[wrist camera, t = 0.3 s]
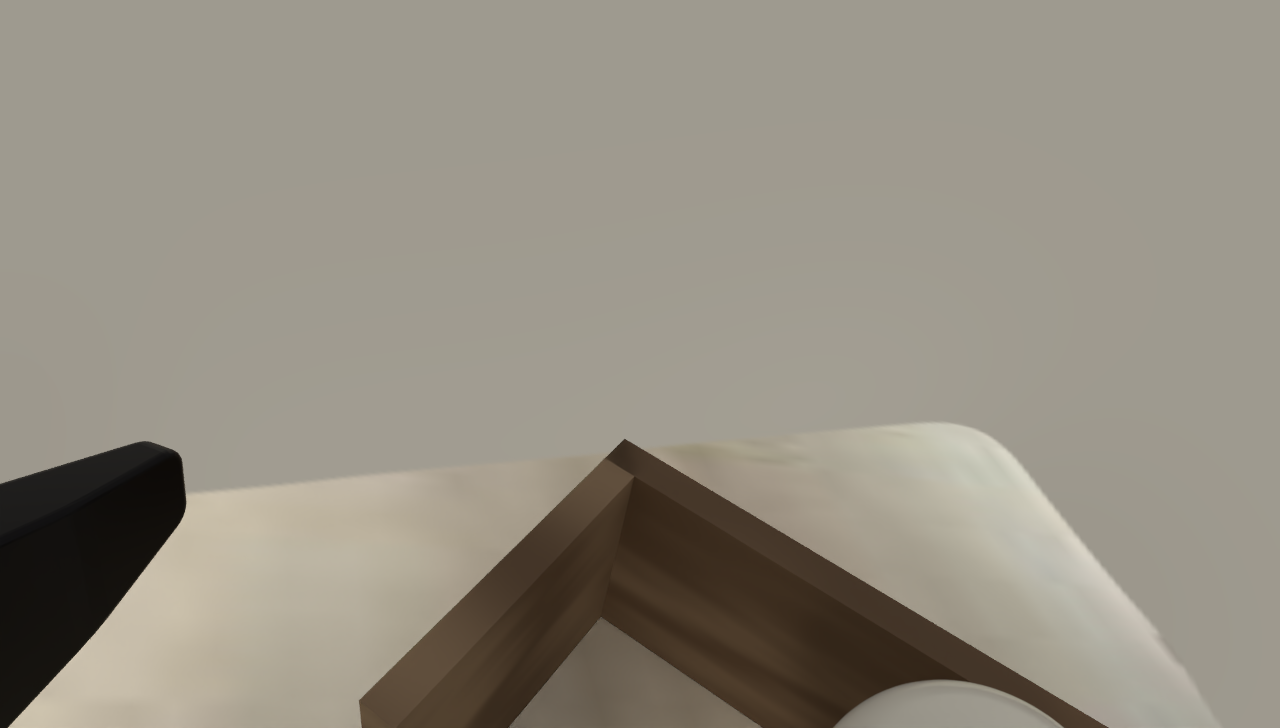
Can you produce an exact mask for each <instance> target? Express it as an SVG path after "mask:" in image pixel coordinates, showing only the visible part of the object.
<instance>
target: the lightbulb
mask: <svg viewBox="0 0 1280 728" xmlns="http://www.w3.org/2000/svg"><path fill="white" fill-rule="evenodd" d="M833 728H1064V727H1063V726H1062V725H1060V724H1059V723H1058V722H1057V721H1055V720H1054V719H1053V718H1051V717H1050V716H1048V715H1047V714H1045V713H1044V712H1042V711H1041V710H1039V709H1038V708H1036V707H1034V706H1033V705H1031V704H1029V703H1027V702H1025V701H1023V700H1022V699H1019V698H1017V697H1015V696H1013V695H1011V694H1008V693H1006V692H1003V691H1001V690H998V689H995V688H992V687H988V686H985V685H981V684H977V683H972V682H966V681H959V680H942V679H937V680H923V681H915V682H910V683H906V684H901V685H898V686H895V687H892V688H889V689H886V690H884V691H881V692H879V693H877V694H875V695H873V696H871V697H869V698H868V699H866V700H864V701H863V702H861V703H860V704H858V705H857V706H856V707H854V708H853V709H852V710H850V711H849V712H848V713H847V714H846V715H845V716H844V717H842V718H841V719H840V720H839V721H838V722H837V723H836V725H835V726H834V727H833Z"/></svg>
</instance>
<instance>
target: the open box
mask: <svg viewBox="0 0 1280 728" xmlns="http://www.w3.org/2000/svg"><path fill="white" fill-rule="evenodd" d="M600 617H603V618H604V619H606V620H607V621H609V622H610V623H611V624H613V625H614V626H616V627H617V628H619V629H620V630H622V631H623V632H625V633H626V634H627V635H629V636H630V637H632V638H633V639H635V640H636V641H638V642H639V643H641V644H642V645H643V646H645V647H646V648H648V649H649V650H651V651H652V652H654V653H655V654H657V655H658V656H660V657H661V658H662V659H664V660H665V661H667V662H668V663H670V664H671V665H673V666H674V667H676V668H677V669H678V670H680V671H681V672H683V673H684V674H686V675H687V676H689V677H690V678H692V679H693V680H694V681H696V682H697V683H699V684H700V685H702V686H703V687H705V688H706V689H708V690H709V691H711V692H712V693H713V694H715V695H716V696H718V697H719V698H721V699H722V700H724V701H725V702H727V703H728V704H729V705H731V706H732V707H734V708H735V709H737V710H738V711H740V712H741V713H743V714H744V715H745V716H747V717H748V718H750V719H751V720H753V721H754V722H756V723H757V724H759V725H760V726H761V727H763V728H833V727H834V726H835V725H836V723H837V722H838V721H839V720H840V719H841V718H842V717H844V716H845V715H846V714H847V713H848V712H849V711H850V710H852V709H853V708H854V707H856V706H857V705H858V704H860V703H861V702H863V701H864V700H866V699H868V698H869V697H871V696H873V695H875V694H877V693H879V692H881V691H884V690H886V689H889V688H892V687H895V686H898V685H901V684H906V683H910V682H915V681H923V680H937V679H942V680H959V681H966V682H972V683H977V684H981V685H985V686H988V687H992V688H995V689H998V690H1001V691H1003V692H1006V693H1008V694H1011V695H1013V696H1015V697H1017V698H1019V699H1022V700H1023V701H1025V702H1027V703H1029V704H1031V705H1033V706H1034V707H1036V708H1038V709H1039V710H1041V711H1042V712H1044V713H1045V714H1047V715H1048V716H1050V717H1051V718H1053V719H1054V720H1055V721H1057V722H1058V723H1059V724H1060V725H1062V726H1063V727H1064V728H1108V727H1106V726H1105V725H1103V724H1101V723H1100V722H1098V721H1096V720H1095V719H1093V718H1091V717H1089V716H1088V715H1086V714H1084V713H1083V712H1081V711H1079V710H1078V709H1076V708H1074V707H1073V706H1071V705H1069V704H1068V703H1066V702H1064V701H1063V700H1061V699H1059V698H1058V697H1056V696H1054V695H1053V694H1051V693H1049V692H1048V691H1046V690H1044V689H1043V688H1041V687H1039V686H1038V685H1036V684H1034V683H1033V682H1031V681H1029V680H1028V679H1026V678H1024V677H1023V676H1021V675H1019V674H1017V673H1016V672H1014V671H1012V670H1011V669H1009V668H1007V667H1006V666H1004V665H1002V664H1001V663H999V662H997V661H996V660H994V659H992V658H991V657H989V656H987V655H986V654H984V653H982V652H981V651H979V650H977V649H976V648H974V647H972V646H971V645H969V644H967V643H966V642H964V641H962V640H961V639H959V638H957V637H956V636H954V635H952V634H951V633H949V632H947V631H946V630H944V629H942V628H940V627H939V626H937V625H935V624H934V623H932V622H930V621H929V620H927V619H925V618H924V617H922V616H920V615H919V614H917V613H915V612H914V611H912V610H910V609H909V608H907V607H905V606H904V605H902V604H900V603H899V602H897V601H895V600H894V599H892V598H890V597H889V596H887V595H885V594H884V593H882V592H880V591H879V590H877V589H875V588H874V587H872V586H870V585H868V584H867V583H865V582H863V581H862V580H860V579H858V578H857V577H855V576H853V575H852V574H850V573H848V572H847V571H845V570H843V569H842V568H840V567H838V566H837V565H835V564H833V563H832V562H830V561H828V560H827V559H825V558H823V557H822V556H820V555H818V554H817V553H815V552H813V551H812V550H810V549H808V548H807V547H805V546H803V545H802V544H800V543H798V542H797V541H795V540H793V539H791V538H790V537H788V536H786V535H785V534H783V533H781V532H780V531H778V530H776V529H775V528H773V527H771V526H770V525H768V524H766V523H765V522H763V521H761V520H760V519H758V518H756V517H755V516H753V515H751V514H750V513H748V512H746V511H745V510H743V509H741V508H740V507H738V506H736V505H735V504H733V503H731V502H730V501H728V500H726V499H725V498H723V497H721V496H719V495H718V494H716V493H714V492H713V491H711V490H709V489H708V488H706V487H704V486H703V485H701V484H699V483H698V482H696V481H694V480H693V479H691V478H689V477H688V476H686V475H684V474H683V473H681V472H679V471H678V470H676V469H674V468H673V467H671V466H669V465H668V464H666V463H664V462H663V461H661V460H659V459H658V458H656V457H654V456H653V455H651V454H649V453H648V452H646V451H644V450H642V449H641V448H639V447H637V446H636V445H634V444H632V443H631V442H629V441H627V440H626V439H624V440H623V441H622V442H621V443H620V444H619V445H618V446H617V447H616V448H615V449H614V450H613V451H612V452H611V453H610V454H609V455H608V456H607V457H606V458H605V459H604V460H603V461H602V462H601V463H600V464H599V465H598V466H597V467H596V468H595V469H594V470H593V471H592V472H591V473H590V474H589V475H588V476H587V477H586V478H585V479H584V480H583V481H582V482H580V483H579V484H578V485H577V486H576V487H575V488H574V489H573V490H572V491H571V492H570V493H569V494H568V495H567V496H566V497H565V498H564V499H563V500H562V501H561V502H560V503H559V504H558V505H557V506H556V507H555V508H554V509H553V510H552V511H551V512H550V513H549V514H548V515H547V516H546V517H545V518H544V519H543V520H542V521H541V522H540V523H539V524H538V525H537V526H536V527H535V528H534V529H533V530H532V531H531V532H530V533H529V534H528V535H527V536H526V537H525V538H524V539H523V540H522V541H521V542H520V543H519V544H518V545H517V546H516V547H514V548H513V549H512V550H511V551H510V552H509V553H508V554H507V555H506V556H505V557H504V558H503V559H502V560H501V561H500V562H499V563H498V564H497V565H496V566H495V567H494V568H493V569H492V570H491V571H490V572H489V573H488V574H487V575H486V576H485V577H484V578H483V579H482V580H481V581H480V582H479V583H478V584H477V585H476V586H475V587H474V588H473V589H472V590H471V591H470V592H469V593H468V594H467V595H466V596H465V597H464V598H463V599H462V600H461V601H460V602H459V603H458V604H457V605H456V606H455V607H454V608H453V609H452V610H451V611H450V612H448V613H447V614H446V615H445V616H444V617H443V618H442V619H441V620H440V621H439V622H438V623H437V624H436V625H435V626H434V627H433V628H432V629H431V630H430V631H429V632H428V633H427V634H426V635H425V636H424V637H423V638H422V639H421V640H420V641H419V642H418V643H417V644H416V645H415V646H414V647H413V648H412V649H411V650H410V651H409V652H408V653H407V654H406V655H405V656H404V657H403V658H402V659H401V660H400V661H399V662H398V663H397V664H396V665H395V666H394V667H393V668H392V669H391V670H390V671H389V672H388V673H387V674H386V675H385V676H383V677H382V678H381V679H380V680H379V681H378V682H377V683H376V684H375V685H374V686H373V687H372V688H371V689H370V690H369V691H368V692H367V693H366V694H365V695H364V696H363V697H362V698H361V699H360V700H359V704H360V714H361V724H362V728H508V727H509V726H510V725H511V724H512V722H513V721H514V720H515V719H516V718H517V716H518V715H519V714H520V713H521V712H522V710H523V709H524V708H525V707H526V706H527V704H528V703H529V702H530V701H531V700H532V698H533V697H534V696H535V695H536V694H537V692H538V691H539V690H540V689H541V688H542V686H543V685H544V684H545V683H546V682H547V680H548V679H549V678H550V677H551V676H552V674H553V673H554V672H555V671H556V670H557V668H558V667H559V666H560V665H561V664H562V662H563V661H564V660H565V659H566V658H567V656H568V655H569V654H570V653H571V652H572V650H573V649H574V648H575V647H576V646H577V644H578V643H579V642H580V641H581V640H582V638H583V637H584V636H585V635H586V633H587V632H588V631H589V630H590V629H591V627H592V626H593V625H594V624H595V623H596V621H597V620H598V619H599V618H600Z"/></svg>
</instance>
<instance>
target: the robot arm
mask: <svg viewBox="0 0 1280 728" xmlns="http://www.w3.org/2000/svg"><path fill="white" fill-rule="evenodd" d="M185 509H186V493H185V484H184V474H183V464H182V459H181V457H180V455H179V454H178V453H177V452H176V451H174V450H172V449H169V448H166V447H164V446H161V445H158V444H155V443H152V442H146V441H143V442H137V443H134V444H130V445H127V446H123V447H120V448H117V449H113V450H110V451H107V452H104V453H100V454H97V455H94V456H90V457H87V458H84V459H81V460H77V461H74V462H71V463H67V464H64V465H61V466H57V467H54V468H51V469H48V470H44V471H41V472H38V473H34V474H32V475H28V476H25V477H22V478H18V479H15V480H12V481H8V482H5V483H2V484H0V728H8V727H9V726H10V725H11V724H12V723H13V721H14V720H15V719H16V718H17V717H18V716H19V715H20V714H21V713H22V712H23V711H24V710H25V709H26V707H27V706H28V705H29V704H30V703H31V702H32V701H33V700H34V699H35V698H36V697H37V696H38V695H39V694H40V692H41V691H42V690H43V689H44V688H45V687H46V686H47V685H48V684H49V683H50V682H51V681H52V680H53V678H54V677H55V676H56V675H57V674H58V673H59V672H60V671H61V670H62V669H63V668H64V667H65V666H66V664H67V663H68V662H69V661H70V660H71V659H72V658H73V657H74V656H75V655H76V654H77V653H78V652H79V650H80V649H81V648H82V647H83V646H84V645H85V644H86V643H87V641H88V640H89V639H90V638H91V637H92V636H93V635H94V634H95V633H96V631H97V630H98V629H99V628H100V626H101V625H102V624H103V623H104V621H105V620H106V619H107V618H108V617H109V615H110V614H111V613H112V611H113V610H114V609H115V607H116V606H117V605H118V604H119V602H120V601H121V600H122V598H123V597H124V596H125V594H126V593H127V592H128V590H129V589H130V588H131V587H132V585H133V584H134V583H135V581H136V580H137V579H138V577H139V576H140V575H141V573H142V572H143V571H144V569H145V568H146V567H147V566H148V564H149V563H150V562H151V560H152V559H153V558H154V556H155V555H156V554H157V552H158V551H159V550H160V549H161V547H162V546H163V545H164V543H165V542H166V541H167V539H168V538H169V537H170V535H171V534H172V533H173V531H174V530H175V529H176V528H177V526H178V525H179V523H180V522H181V520H182V518H183V515H184V513H185Z"/></svg>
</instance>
